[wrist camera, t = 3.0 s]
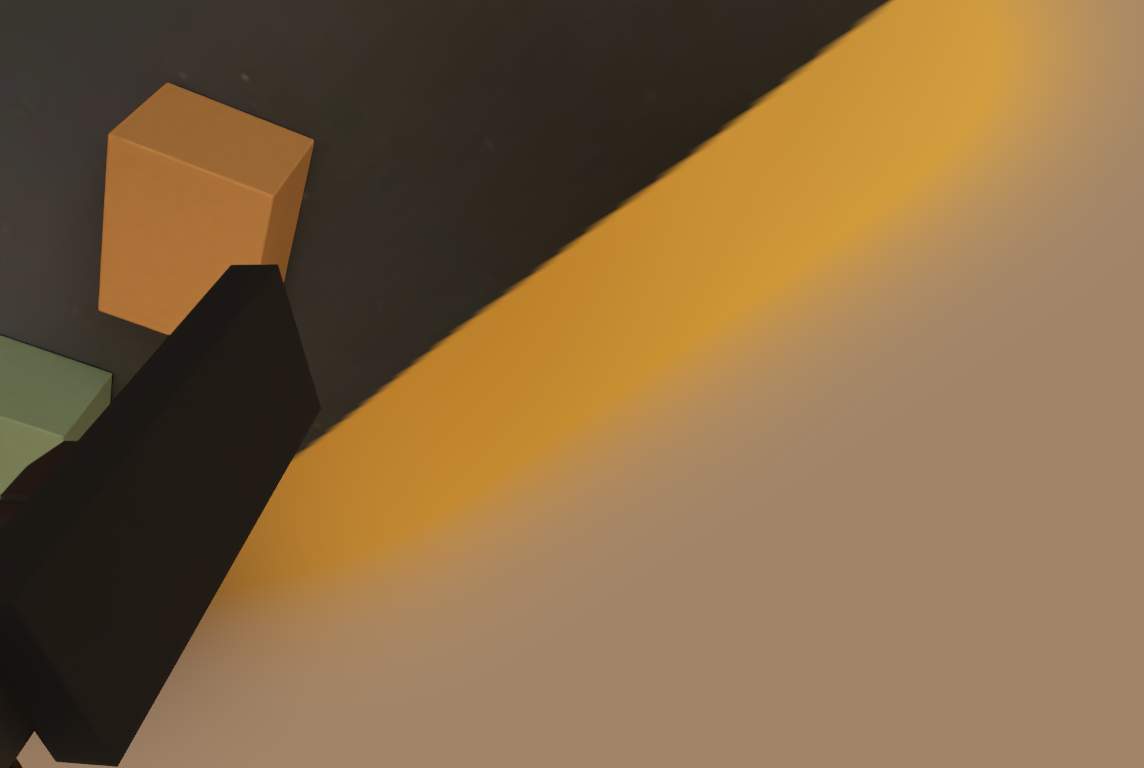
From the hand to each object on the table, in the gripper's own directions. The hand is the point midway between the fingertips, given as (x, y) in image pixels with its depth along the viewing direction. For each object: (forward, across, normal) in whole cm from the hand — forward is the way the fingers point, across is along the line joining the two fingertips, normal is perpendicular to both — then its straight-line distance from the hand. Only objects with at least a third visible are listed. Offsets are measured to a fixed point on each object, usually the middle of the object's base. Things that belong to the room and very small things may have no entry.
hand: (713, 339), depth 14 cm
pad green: (+17, -29, -15) cm, 37 cm away
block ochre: (+17, -17, -5) cm, 25 cm away
